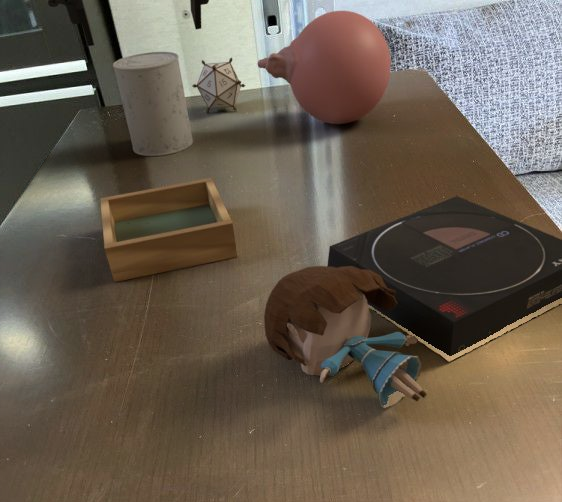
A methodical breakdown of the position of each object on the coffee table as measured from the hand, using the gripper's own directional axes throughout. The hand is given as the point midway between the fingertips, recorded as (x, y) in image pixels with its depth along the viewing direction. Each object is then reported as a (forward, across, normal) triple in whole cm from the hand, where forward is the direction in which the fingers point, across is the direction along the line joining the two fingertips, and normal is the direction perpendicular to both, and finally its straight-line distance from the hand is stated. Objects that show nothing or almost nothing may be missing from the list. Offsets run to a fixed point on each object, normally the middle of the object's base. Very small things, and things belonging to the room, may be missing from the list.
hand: (143, 27), depth 79 cm
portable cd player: (-18, +22, -44) cm, 52 cm away
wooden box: (-4, -3, -29) cm, 30 cm away
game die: (+30, +12, +4) cm, 32 cm away
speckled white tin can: (+20, 0, -5) cm, 21 cm away
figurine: (-24, +8, -50) cm, 56 cm away
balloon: (+18, +26, -8) cm, 33 cm away
